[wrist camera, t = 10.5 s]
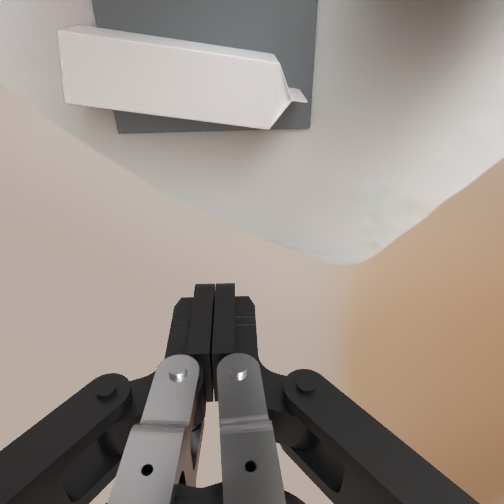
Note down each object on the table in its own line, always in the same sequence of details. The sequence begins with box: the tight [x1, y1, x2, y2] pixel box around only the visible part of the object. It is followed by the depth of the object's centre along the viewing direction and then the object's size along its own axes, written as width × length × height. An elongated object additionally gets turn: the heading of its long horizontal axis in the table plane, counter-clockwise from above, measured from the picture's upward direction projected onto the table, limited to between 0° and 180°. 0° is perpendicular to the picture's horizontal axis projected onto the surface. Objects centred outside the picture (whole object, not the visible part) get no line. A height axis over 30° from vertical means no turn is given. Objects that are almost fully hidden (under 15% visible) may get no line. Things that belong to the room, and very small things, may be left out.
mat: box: [92, 0, 318, 133], centre depth 40 cm, size 16×21×1 cm
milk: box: [57, 25, 308, 130], centre depth 38 cm, size 6×6×22 cm
